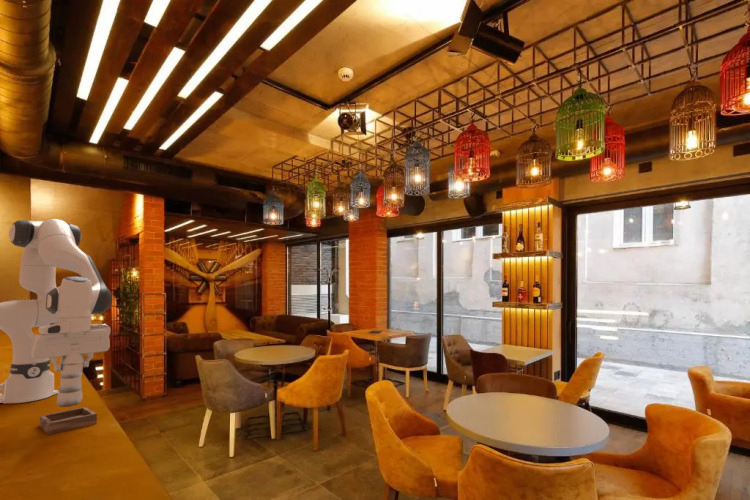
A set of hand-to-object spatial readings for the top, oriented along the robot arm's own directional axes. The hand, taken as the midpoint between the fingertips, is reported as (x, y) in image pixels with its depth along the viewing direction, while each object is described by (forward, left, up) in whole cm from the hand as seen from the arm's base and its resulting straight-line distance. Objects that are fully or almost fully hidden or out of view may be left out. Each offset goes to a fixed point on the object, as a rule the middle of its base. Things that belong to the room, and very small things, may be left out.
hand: (71, 368), depth 126 cm
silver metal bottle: (0, 0, -12) cm, 12 cm away
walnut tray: (0, 0, -18) cm, 18 cm away
